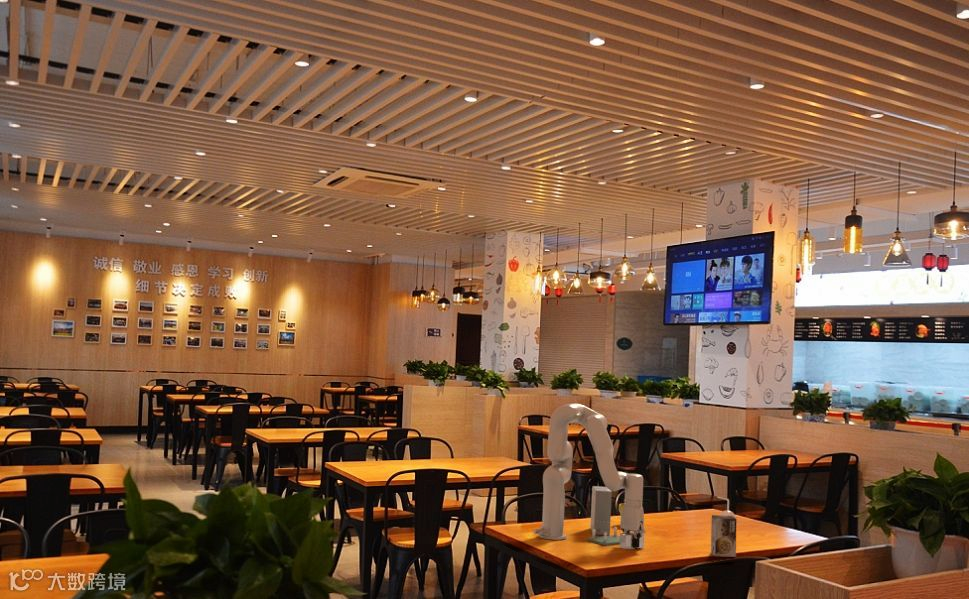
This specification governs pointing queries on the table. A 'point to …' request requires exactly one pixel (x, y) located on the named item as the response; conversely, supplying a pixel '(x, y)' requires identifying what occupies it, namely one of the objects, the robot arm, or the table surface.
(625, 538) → the white open box
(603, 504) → the hard drive box
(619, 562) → the table surface
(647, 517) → the table surface
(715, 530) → the coffee box
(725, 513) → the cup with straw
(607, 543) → the pin tray
